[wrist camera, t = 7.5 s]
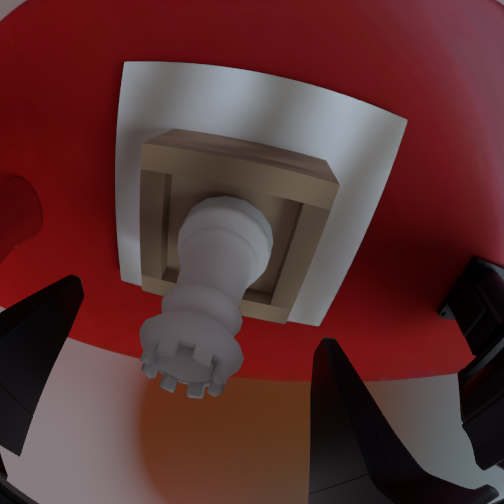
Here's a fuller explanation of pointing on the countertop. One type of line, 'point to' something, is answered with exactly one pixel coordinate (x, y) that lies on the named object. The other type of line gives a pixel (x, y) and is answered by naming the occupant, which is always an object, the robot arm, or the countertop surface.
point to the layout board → (249, 175)
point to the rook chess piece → (207, 296)
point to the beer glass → (17, 214)
